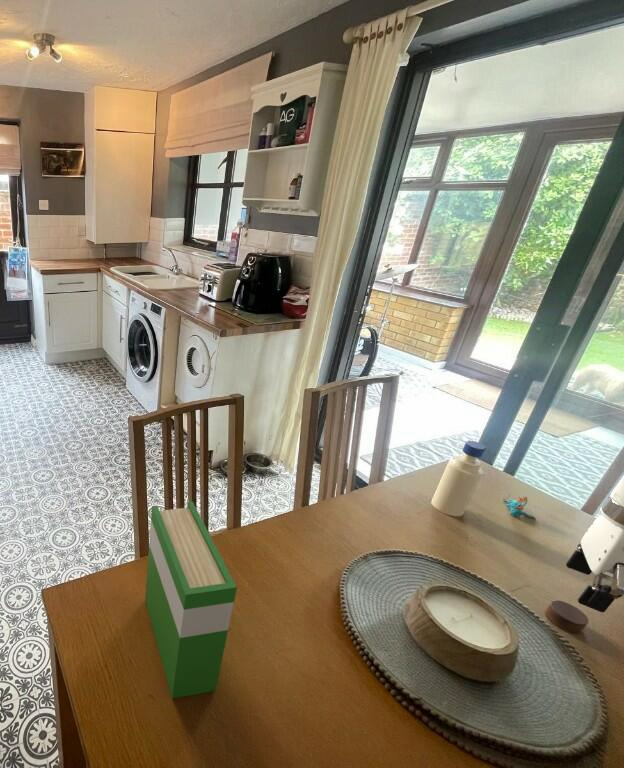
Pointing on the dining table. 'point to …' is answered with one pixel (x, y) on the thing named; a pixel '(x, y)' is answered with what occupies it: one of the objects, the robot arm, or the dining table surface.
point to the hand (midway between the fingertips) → (583, 587)
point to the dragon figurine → (518, 507)
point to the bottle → (459, 480)
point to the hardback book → (187, 600)
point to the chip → (566, 616)
